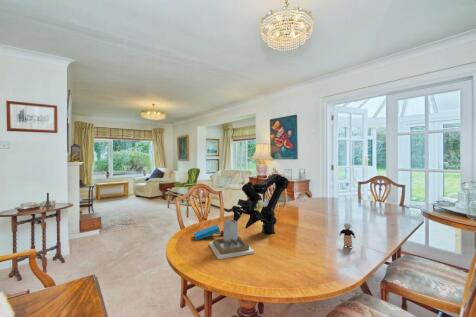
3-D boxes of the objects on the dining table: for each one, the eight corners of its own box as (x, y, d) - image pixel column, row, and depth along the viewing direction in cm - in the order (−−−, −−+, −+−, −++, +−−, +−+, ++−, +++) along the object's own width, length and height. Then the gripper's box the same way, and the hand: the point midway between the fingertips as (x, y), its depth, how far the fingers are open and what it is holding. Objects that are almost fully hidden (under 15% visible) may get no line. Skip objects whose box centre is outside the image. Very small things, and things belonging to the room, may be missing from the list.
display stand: (240, 240, 126) (240, 234, 126) (253, 253, 109) (253, 246, 109) (209, 244, 120) (209, 238, 120) (218, 259, 103) (218, 252, 103)
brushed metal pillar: (230, 243, 118) (230, 219, 118) (237, 246, 115) (237, 221, 114) (223, 246, 114) (223, 221, 114) (230, 249, 111) (230, 223, 111)
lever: (198, 248, 127) (228, 236, 131) (194, 237, 126) (224, 225, 131) (197, 243, 133) (225, 232, 138) (193, 233, 133) (222, 222, 137)
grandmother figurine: (354, 246, 118) (354, 222, 118) (355, 249, 114) (356, 224, 114) (338, 244, 120) (338, 220, 120) (339, 247, 117) (339, 222, 117)
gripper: (233, 191, 129) (219, 214, 121) (259, 195, 117) (245, 221, 109) (242, 203, 135) (229, 225, 127) (268, 207, 123) (255, 233, 115)
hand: (239, 226), depth 119 cm, fingers open, 9 cm apart
